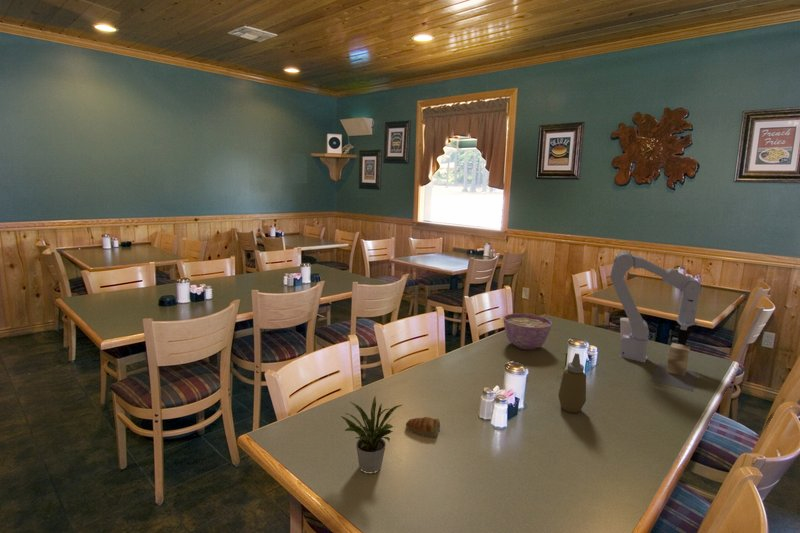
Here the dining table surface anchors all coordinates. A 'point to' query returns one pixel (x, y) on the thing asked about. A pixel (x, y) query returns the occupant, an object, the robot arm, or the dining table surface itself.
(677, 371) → the birch block
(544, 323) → the bowl of food
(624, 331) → the smoothie
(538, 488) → the dining table surface
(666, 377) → the rubber mat
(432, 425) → the pastry
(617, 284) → the robot arm
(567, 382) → the squeeze bottle
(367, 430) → the house plant
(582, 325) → the dining table surface
